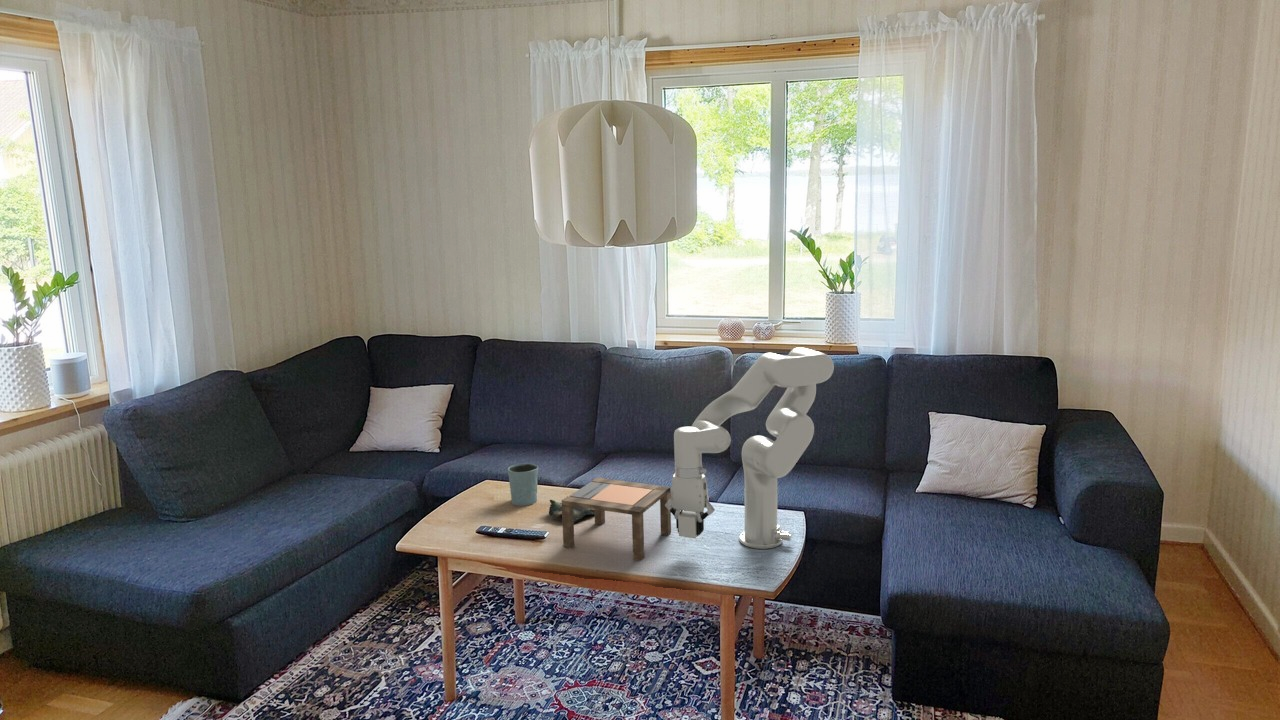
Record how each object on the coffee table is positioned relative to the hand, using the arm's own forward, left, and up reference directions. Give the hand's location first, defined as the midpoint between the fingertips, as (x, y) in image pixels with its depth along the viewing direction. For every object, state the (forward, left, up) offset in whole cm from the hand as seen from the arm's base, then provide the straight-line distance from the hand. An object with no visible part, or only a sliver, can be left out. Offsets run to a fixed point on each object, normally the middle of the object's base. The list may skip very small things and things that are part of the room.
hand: (690, 531), depth 238 cm
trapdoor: (+26, -2, +4) cm, 26 cm away
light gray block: (0, 0, -1) cm, 1 cm away
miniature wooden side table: (+24, -2, -7) cm, 25 cm away
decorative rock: (+47, -16, -7) cm, 50 cm away
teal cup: (+68, -20, -7) cm, 71 cm away
